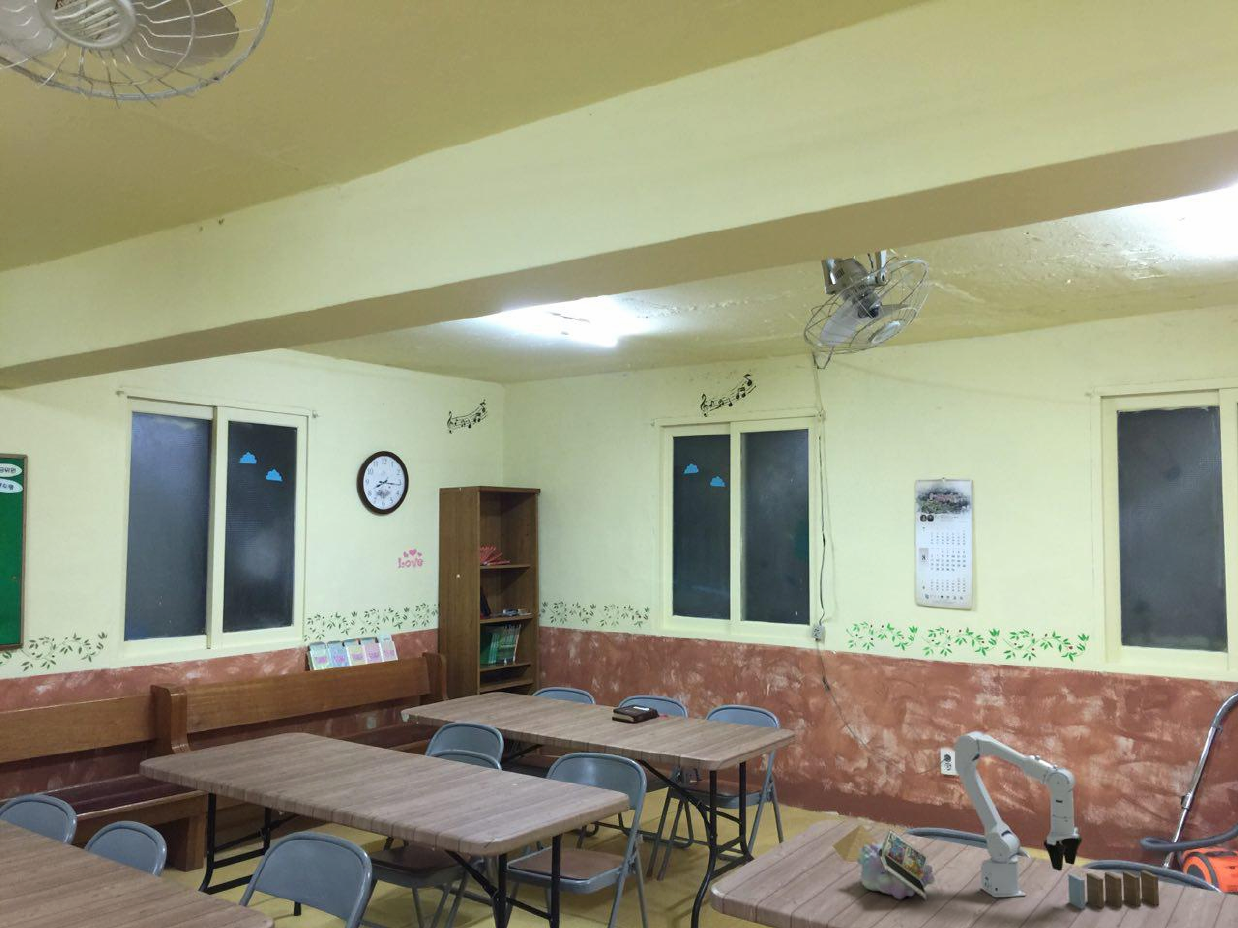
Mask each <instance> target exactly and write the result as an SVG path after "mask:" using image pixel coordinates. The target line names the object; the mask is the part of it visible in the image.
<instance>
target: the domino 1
mask: <svg viewBox="0 0 1238 928" xmlns="http://www.w3.org/2000/svg"><path fill="white" fill-rule="evenodd" d="M1067 878H1068V880H1067V881H1068V903H1070V904H1071V905H1073V906H1074V907H1076V908H1078V909H1080V910H1086V889H1085V888H1086V887H1085V885H1086V884H1085V881H1086V880H1085V879H1084V878H1081V877H1080V876H1077V874H1074V873H1068V875H1067Z"/></svg>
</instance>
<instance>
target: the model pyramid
mask: <svg viewBox="0 0 1238 928" xmlns="http://www.w3.org/2000/svg"><path fill="white" fill-rule="evenodd" d="M872 842H874V843H875V844H877V845H878V844H879V842H877V840H876V839H875V838H874V836H873V835H872V834H871V833H870V832H869V831H868V830H867V829H866V827H865V826H864V825H863V824H860V825H858V826H857V827H855V828H854V829H853V830H852V831H850V832H849V833H848V834H846V835H845V836H843V837H842V838H841V839H839V840H838V841H837V842H835V843H834V844H832V846H833V847H834V848H835V849H836V851H837V852H838V854H839V855H841V857H842V859H843V860H844V861H845V862H857V858H861V857H862V856H860V855H859V849H861V848H863V845H868V846H869V847H870V846H871V844H872Z"/></svg>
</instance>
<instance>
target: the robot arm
mask: <svg viewBox="0 0 1238 928" xmlns="http://www.w3.org/2000/svg"><path fill="white" fill-rule="evenodd" d="M953 749H954V754H955V755H954V768H955V771H956V773H957V774H958V777H959V778H960V781H961V782H962V785H963V787H964V789H965V792H966V793H967V795H968V797H969V800H970V801H971V803H972V806H973V807H974V810H975V811H976V813H977V815H978V818H979V820H980V822H981V823H982V825H983V827H984V839H985V841H986V845H987V852H988V854H989V856H990V858H989V859H985V860H983V861H982V862H981V864H980V873H981V875H980V877H981V879H980V880H981V882H980V883H981V885H980V887H979V888H980V889H981V890H983V891H984V892H986V893H988V894H989V895H991V896H992V897H993V898H1007V897H1009V898H1010V897H1011V898H1013V897H1025V896H1026V893H1024V892H1023V891H1021V890H1020V886H1019V885H1020V883H1019V881H1020V880H1019V878H1020V877H1019V858H1018V856H1017V853H1018V852H1019V851H1020V848H1021V842H1020V840H1019V837H1018V836H1017V835H1016V834H1014V832H1013V831H1012V830H1011V828H1010V827H1009V825H1008V824H1006V823H1005V821H1003V820H1002V818H1001V816H1000V814H999V812H998V810H997V808H996V805H995V804H994V801H993V800H992V798H991V796H990V794H989V792H988V790H987V787H986V786H985V783H984V781H983V780H982V778H981V776H980V773H979V771H978V769H977V768H976V767H977V765H978V762H979V760H980V757H981V756H988V755H991V756H992V755H993V756H996V757H998V758H1000V759H1002V760H1005V761H1006V762H1008V763H1011V764H1012V765H1015V766H1017V767H1019V768H1020V769H1021V770H1022V773H1023V774H1024V775H1026V776H1028V777H1030V778H1032V779H1033V780H1035V781H1037V782H1039V783H1041V784H1043V785H1045V786H1047V788H1048V789H1049V790H1050V797H1049V798H1050V828H1051V829H1050V831H1049V834H1048V835H1046V840H1043V846H1044V847H1045V850H1047V853H1048V856H1049V860H1050V863H1051V866H1052V869H1053V870H1054V871H1060V872H1061V871H1062V869H1063V865H1064V864H1063V863H1064V862H1065V864H1068V865H1071V866H1072V865H1073V866H1074V865H1075V862H1076V858H1077V855H1078V854H1077V853H1078V850H1079V847H1080V845H1081V843H1082V842H1083V838H1082V837H1080V835H1079V828H1078V827H1076V826H1075V815H1074V811H1075V810H1074V793H1073V792H1074V791H1073V788H1074V787H1075V785H1076V778H1075V776H1074V774H1073V773H1072V772H1071V771H1070V770H1068V769H1067V768H1065V767H1059V766H1058V765H1056V764H1051V763H1050V762H1047V761H1045V760H1044V759H1042V756H1040V755H1038V754H1037V755H1033V754H1030V755H1027V756H1026V755H1024V754H1022V753H1020V752H1018V751H1017V750H1015V749H1013V748H1012V747H1009V746H1007V745H1006V744H1004V743H1002V742H1000V741H999V740H996V739H995V737H992V736H991V735H989V734H984V733H983V732H982V731H979V730H974V731H971V732H969V733H967V734H962V735H960V736H958V738H957V739H956V741H955V743H954V746H953Z"/></svg>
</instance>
